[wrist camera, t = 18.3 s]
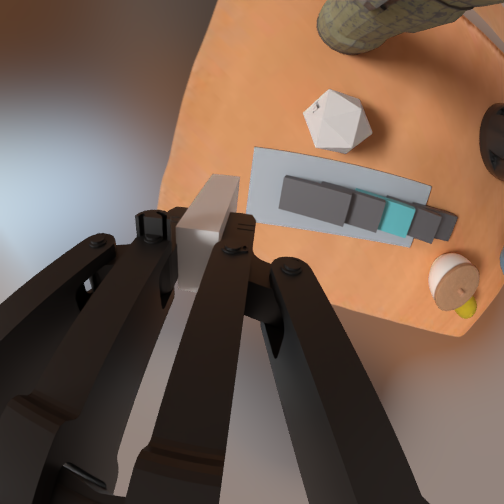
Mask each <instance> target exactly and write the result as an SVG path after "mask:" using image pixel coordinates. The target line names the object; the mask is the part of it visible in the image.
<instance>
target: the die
mask: <svg viewBox="0 0 504 504" xmlns="http://www.w3.org/2000/svg"><path fill="white" fill-rule="evenodd" d="M303 115H304V117H305V120H306V122H307V125H308V128H309V131H310V133H311V136H312V139H313V142H314V145H315V147H316V148H320V149H325V150H330V151H335V152H340V153H344V154H346V153H348V152H349V151H350V150H352V149H353V148H354V147H355V146H357V145H358V144H359V143H361V142H362V141H363V140H365V139H366V138H367V137H369V136H370V135H371V134H372V133H373V132H372V130H371V127H370V124H369V122H368V119H367V116H366V114H365V111H364V109H363V106H362V104H361V102H360V99H357V98H355V97H352V96H349V95H346V94H343V93H340V92H337V91H334V90H331V89H328V90H327V91H326V92H325V93H324V94H323V95H322V96H321V97H320V98H318V99H317V100H316V101H315V102H314V103H313V104H312V105H311V106H310V107H309V108H308V109H307V110H305V111H304V112H303Z"/></svg>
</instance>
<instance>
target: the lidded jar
mask: <svg viewBox="0 0 504 504" xmlns="http://www.w3.org/2000/svg"><path fill="white" fill-rule="evenodd" d="M479 277H480V276H479V271H478V269H477V268H476V267H475V266H474V265H473V264H472V263H471V262H470V261H469V260H468V259H467V258H465V257H464V256H462V255H460V254H457V253H448V254H443V255H441V256H439V257H438V258H436V259H435V261H434V262H433V264H432V266H431V269H430V272H429V277H428V283H429V289H430V292H431V294H432V296H433V298H434V300H435V303H436V305H437V306H438V308H439V309H441V310H444V311H451V310H455V309H457V308H459V307H461V306H462V305H464V304H465V303H466V302H467V301H468V300H469V299H470V298H471V297H472V296H473V294H474V293H475V291H476V289H477V287H478V284H479Z"/></svg>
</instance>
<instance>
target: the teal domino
mask: <svg viewBox="0 0 504 504" xmlns="http://www.w3.org/2000/svg"><path fill="white" fill-rule="evenodd" d="M355 190H356V191H359V192H362V193H365V194H369V195H372V196H375V197H378V198H381V199H384V200H385V201H386V204H385V208H384V211H383V214H382V217H381V220H380V223H379V226H378V230H381V231H384V232H387V233H390V234H393V235H396V236H399V237H402V238H406V235H407V232H408V230H409V227H410V224H411V222H412V219H413V216H414V213H415V208H414V207H413V206H410V205H407V204H405V203H402V202H399V201H396V200H393V199H390V198H387V197H384V196H381V195H377V194H374V193H371V192H368V191H365V190H361V189H358V188H356V189H355Z"/></svg>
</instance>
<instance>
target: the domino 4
mask: <svg viewBox="0 0 504 504" xmlns="http://www.w3.org/2000/svg"><path fill="white" fill-rule="evenodd" d="M412 204H415V205H417V206H420V207H423V208H426V209H428V210H431V211H434V212H436V213H439V214H440V215H441V217H442V218H441V221H440V224H439V226H438V229H437V231H436V234H435V236H434V238H436V239H440V240H444V241H448V240H449V238H450V236H451V233H452V231H453V228H454V226H455V223H456V221H457V218H458V217H457V216H456V215H454V214H453V213H450V212H447V211H443V210H440V209H437V208H433V207H430V206H426V205H423V204H419V203H416V202H413V203H412Z"/></svg>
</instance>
